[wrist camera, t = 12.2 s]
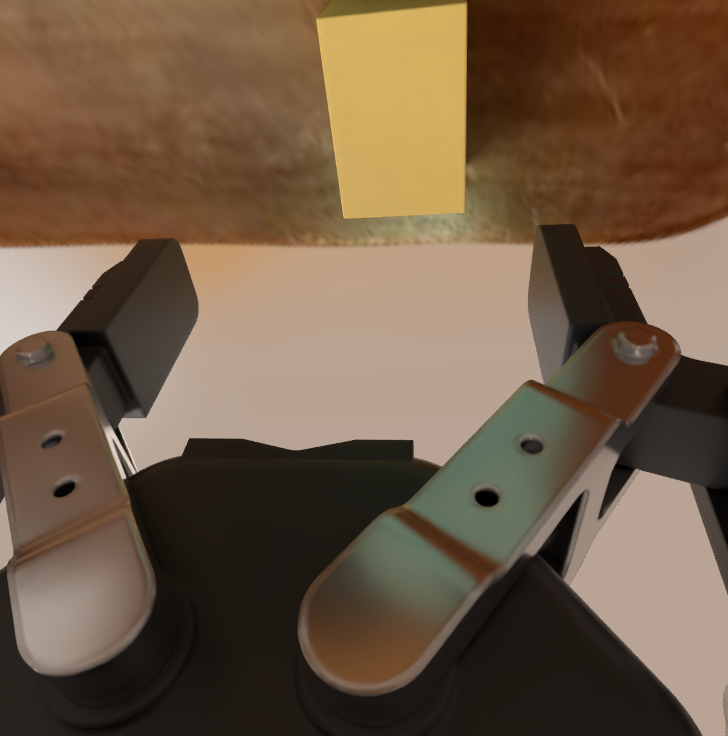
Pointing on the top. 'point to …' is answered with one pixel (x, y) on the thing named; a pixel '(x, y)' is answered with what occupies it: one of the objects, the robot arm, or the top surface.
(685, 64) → the top surface
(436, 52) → the cheese
